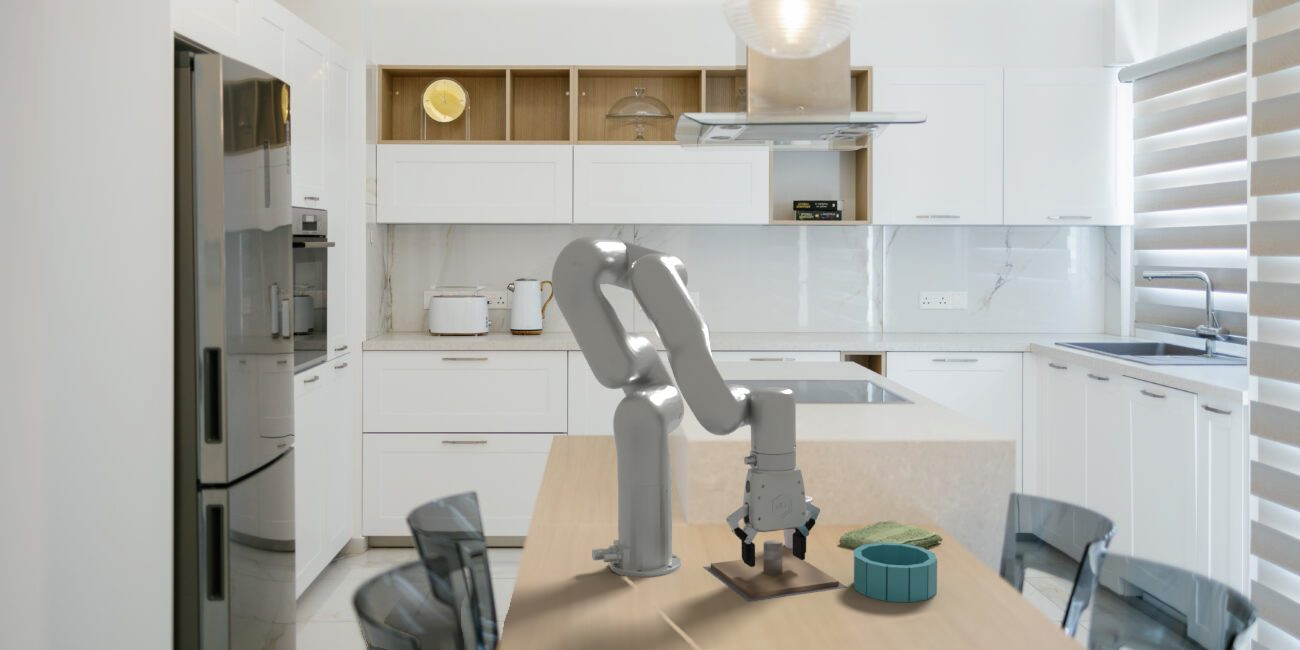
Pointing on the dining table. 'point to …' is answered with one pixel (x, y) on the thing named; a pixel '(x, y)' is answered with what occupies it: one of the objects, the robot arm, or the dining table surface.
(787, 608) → the dining table surface
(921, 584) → the bowl
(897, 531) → the washcloth
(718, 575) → the mat
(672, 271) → the robot arm
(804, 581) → the cover
